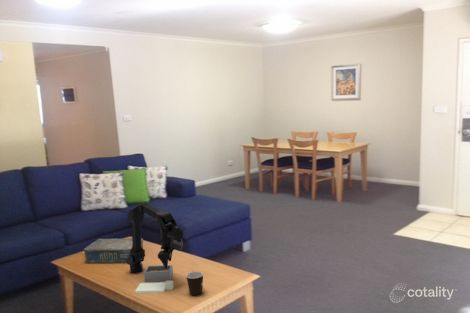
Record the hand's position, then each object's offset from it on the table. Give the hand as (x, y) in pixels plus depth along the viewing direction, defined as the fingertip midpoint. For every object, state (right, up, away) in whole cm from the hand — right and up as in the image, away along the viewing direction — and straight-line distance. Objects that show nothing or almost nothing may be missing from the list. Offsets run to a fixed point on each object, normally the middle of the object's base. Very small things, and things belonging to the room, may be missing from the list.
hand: (168, 264), depth 229 cm
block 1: (-9, -10, +9) cm, 17 cm away
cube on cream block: (-6, -13, -4) cm, 15 cm away
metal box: (-42, -8, +48) cm, 64 cm away
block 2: (-3, -10, +9) cm, 14 cm away
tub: (-6, -11, +9) cm, 16 cm away
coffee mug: (+17, -12, -9) cm, 23 cm away
